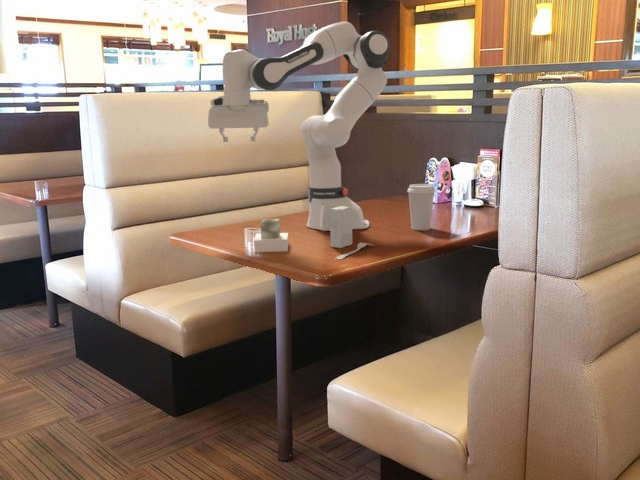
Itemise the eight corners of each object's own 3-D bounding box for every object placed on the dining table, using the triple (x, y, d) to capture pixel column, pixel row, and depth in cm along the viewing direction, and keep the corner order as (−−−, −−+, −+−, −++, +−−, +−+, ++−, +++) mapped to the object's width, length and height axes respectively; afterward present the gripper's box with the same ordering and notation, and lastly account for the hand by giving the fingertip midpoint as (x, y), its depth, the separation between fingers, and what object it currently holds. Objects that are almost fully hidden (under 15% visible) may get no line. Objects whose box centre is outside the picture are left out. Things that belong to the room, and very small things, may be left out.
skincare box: (342, 243, 201) (341, 205, 198) (353, 245, 198) (352, 206, 195) (329, 246, 196) (328, 208, 194) (341, 248, 194) (340, 209, 191)
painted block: (288, 245, 202) (287, 232, 201) (287, 252, 192) (287, 239, 192) (256, 246, 202) (256, 233, 201) (254, 253, 192) (254, 240, 191)
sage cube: (279, 234, 199) (279, 218, 198) (277, 238, 194) (276, 222, 193) (264, 234, 199) (263, 219, 198) (261, 238, 194) (260, 222, 193)
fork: (332, 268, 182) (331, 259, 181) (368, 245, 198) (368, 237, 197) (340, 269, 181) (339, 260, 180) (376, 246, 197) (376, 238, 196)
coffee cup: (438, 226, 222) (438, 184, 219) (430, 232, 214) (431, 187, 211) (411, 225, 226) (411, 183, 223) (403, 230, 218) (403, 186, 215)
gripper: (269, 99, 216) (270, 140, 219) (209, 100, 217) (211, 141, 220) (267, 99, 210) (269, 141, 213) (205, 100, 210) (208, 142, 213)
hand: (239, 141), depth 216 cm, fingers open, 8 cm apart
